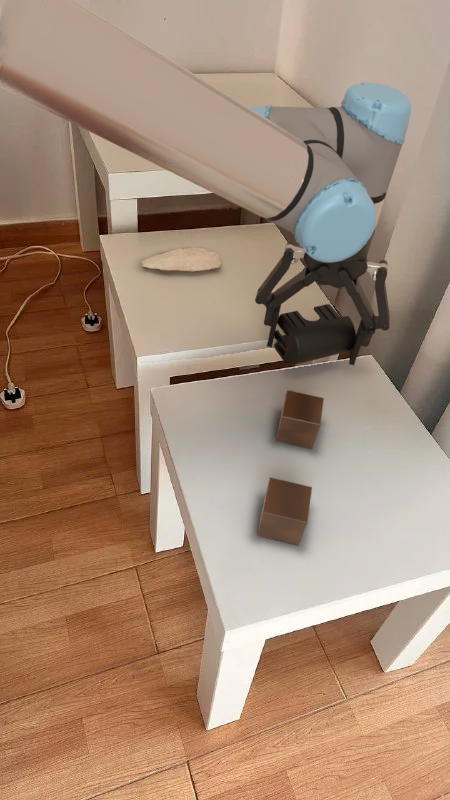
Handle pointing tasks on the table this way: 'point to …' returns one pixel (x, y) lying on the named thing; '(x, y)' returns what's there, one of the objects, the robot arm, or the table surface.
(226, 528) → the table surface
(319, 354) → the end cap
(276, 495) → the walnut block near
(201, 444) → the table surface
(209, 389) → the table surface
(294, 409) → the walnut block middle
